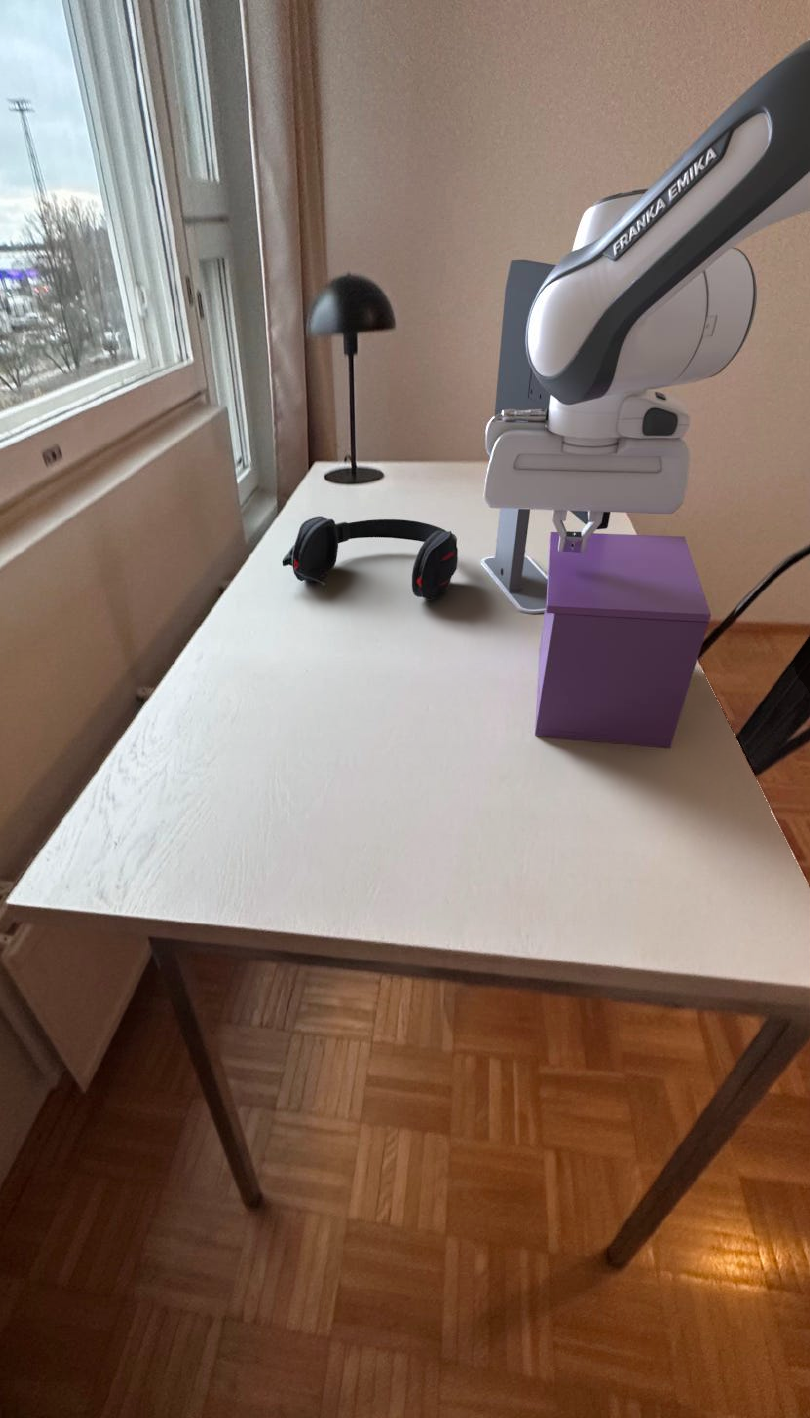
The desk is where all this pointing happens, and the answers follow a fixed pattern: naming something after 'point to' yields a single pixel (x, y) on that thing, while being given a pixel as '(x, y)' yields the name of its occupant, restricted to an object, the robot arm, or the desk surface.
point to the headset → (323, 535)
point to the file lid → (626, 579)
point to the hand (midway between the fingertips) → (571, 550)
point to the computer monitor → (519, 393)
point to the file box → (615, 677)
